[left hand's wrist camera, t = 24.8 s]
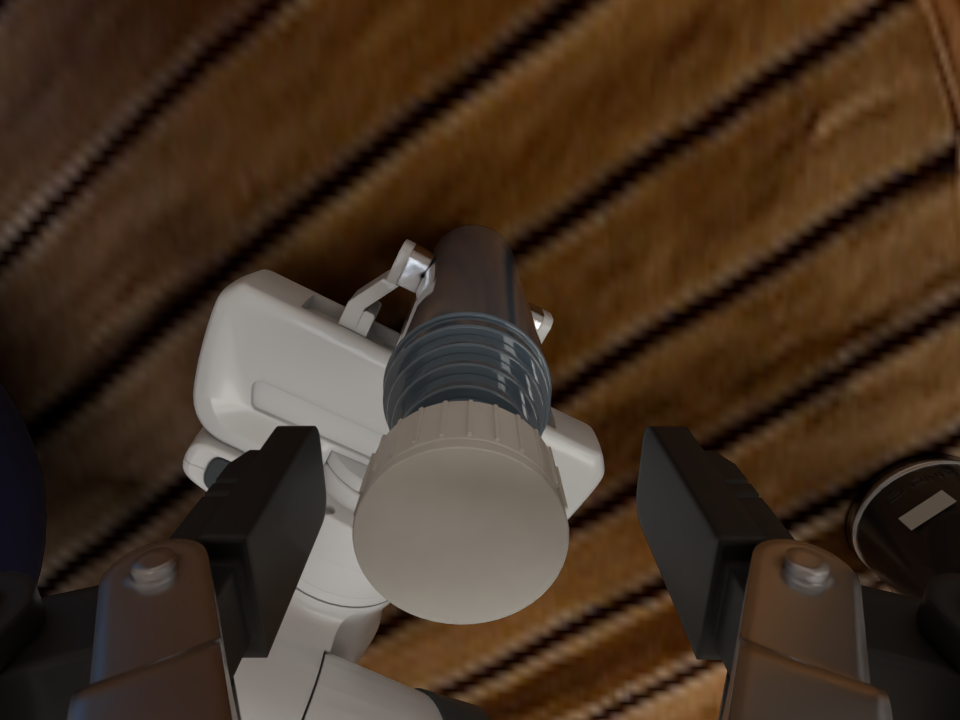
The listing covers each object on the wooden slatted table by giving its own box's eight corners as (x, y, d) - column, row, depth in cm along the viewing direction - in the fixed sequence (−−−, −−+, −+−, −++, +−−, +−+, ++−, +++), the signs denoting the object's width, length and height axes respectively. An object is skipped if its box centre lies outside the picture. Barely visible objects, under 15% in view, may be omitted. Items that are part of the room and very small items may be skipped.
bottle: (444, 212, 31) (370, 369, 10) (528, 241, 32) (629, 446, 10) (419, 295, 33) (310, 580, 12) (499, 320, 33) (536, 637, 12)
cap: (565, 398, 11) (582, 446, 10) (551, 561, 13) (563, 629, 11) (363, 395, 11) (342, 441, 10) (372, 558, 13) (355, 626, 11)
